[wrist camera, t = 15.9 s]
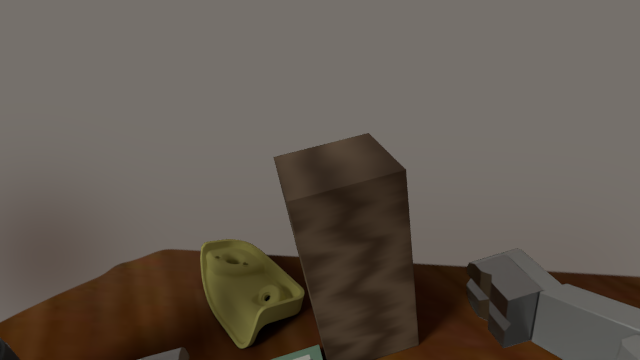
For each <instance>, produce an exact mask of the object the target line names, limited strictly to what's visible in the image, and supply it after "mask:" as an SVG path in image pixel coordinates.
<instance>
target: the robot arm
mask: <svg viewBox="0 0 640 360" xmlns="http://www.w3.org/2000/svg"><path fill="white" fill-rule="evenodd" d="M467 274H468V275H469V276H470V278H471V279H470V280H469V282H468V283H467V285H466V289H467V296H468V300H469V303H470V305H471V307H472V308H473V310H474V311H475V313H476V314H477V315H478V317H480V318H483V319H485V320H487V321H488V330H489V331H490V332H491V333H492V335H493V336H494V337H495V339H496V340H497V341H498V342H499V344H500V345H501V346H502V347H503V348H505V347H509V346H512V345H515V344H519V343H522V342H526V341H529V340H532V342H534V343H535V344H537V345H539V346H541V347H542V348H544V349H546V350H547V351H549V352H551V353H553V354H554V355H556V356H558V357H560V358H561V359H563V360H640V309H639V308H636V307H633V306H630V305H627V304H624V303H621V302H618V301H616V300H613V299H610V298H607V297H604V296H601V295H598V294H595V293H593V292H590V291H587V290H584V289H581V288H578V287H575V286H572V285H570V284H564V285H562V284H560V283H559V282H558V281H557V280H556V279H555V278H554V277H552V276H551V275H550V274H549V273H548V272H547V271H545V270H544V269H543V268H542V267H541V266H539V264H537V263H536V262H535V261H534V260H533V259H532V258H530V257H529V256H528V255H527V254H526V253H525V252H523V251H522V250H520V249H513V250H510V251H507V252H503V253H501V254H497V255H493V256H490V257H487V258H483V259H480V260H477V261H473V262H470V263H469V264H468V266H467ZM0 360H20V359H19V357H18V356H17V355H16V354H15V353H14V352H13V351H12V349H11V348H10V346H9V345H8V344H7V343H5V342H4V341H3V340H2V339H1V338H0ZM138 360H189V354H188V352H187V351H186V349H185V348H178V349H174V350H171V351H167V352H163V353H159V354H156V355H152V356H148V357H144V358H142V359H138Z"/></svg>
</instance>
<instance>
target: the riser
mask: <svg viewBox="0 0 640 360" xmlns="http://www.w3.org/2000/svg"><path fill="white" fill-rule="evenodd" d="M274 161H275V164H276V168H277V172H278V176H279V180H280V184H281V188H282V192H283V195H284V199H285V203H286V207H287V211H288V215H289V219H290V222H291V227H292V231H293V234H294V238H295V242H296V246H297V250H298V254H299V258H300V262H301V265H302V269H303V273H304V277H305V281H306V285H307V289H308V293H309V297H310V300H311V304H312V308H313V312H314V316H315V319H316V323H317V326H318V330H319V334H320V337H321V341H322V344H323V348H324V352H325V355H326V359H327V360H374V359H377V358H380V357H383V356H386V355H389V354H392V353H396V352H399V351H402V350H405V349H408V348H411V347H414V346H417V345H419V341H418V327H417V314H416V300H415V286H414V273H413V260H412V246H411V232H410V218H409V204H408V191H407V178H406V169H404V167H403V166H401V165H400V164H399V163H398V162H397V161H396V160H395V159H394V158H393V157H392V156H391V155H390V154H389V153H388V152H387V151H386V150H385V149H384V148H383V147H382V146H381V145H380V144H379V143H378V142H377V141H376V140H375V139H374V138H373V137H372V136H371V135H370V134H369V133H367V134H363V135H360V136H355V137H351V138H347V139H344V140H339V141H336V142H332V143H328V144H324V145H320V146H316V147H312V148H308V149H304V150H300V151H297V152H292V153H289V154H284V155H280V156H277V157H274Z"/></svg>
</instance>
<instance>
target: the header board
mask: <svg viewBox="0 0 640 360" xmlns="http://www.w3.org/2000/svg"><path fill="white" fill-rule="evenodd" d="M310 359H313V360H323V359H322V355H321V351H320V347H319V345H316V346H313V347H310V348H306V349H303V350H300V351H297V352H294V353H291V354H287V355H284V356H281V357H278V358H275V359H272V360H310Z"/></svg>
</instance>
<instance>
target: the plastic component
mask: <svg viewBox="0 0 640 360" xmlns="http://www.w3.org/2000/svg"><path fill="white" fill-rule="evenodd" d="M201 273H202V281H203V286H204V290H205V294H206V298H207V300H208V303H209V305H210V308H211V310H212V312H213V313H214V315H215V317H216V318H217V319H218V321H219V322H220V324H221V325H222V326H223V328H224V329H225V330H226V332H227V333H228V334H229V336H230V337H231V339H232V340H233V341H234V343H235V344H236V345H237V347H239V348H246V347H249V346H251V345H252V344H253V343H254V341H255V339H256V336H257V334H258V332H259V330H260V329H261V328H262V327H263V326H264V325H266V324H268V323H271V322H275V321H278V320H281V319H284V318H287V317H290V316H294V315H296V314H297V313H299V311H300V310H301V306H302V302H303V298H304V294H305V293H304V289H303V288H302V287H301V286H300V285H299V284H298V283H297V282H296V281H294V280H293V279H292V278H291V277H290V276H289V275H288V274H287V273H286V272H285V271H283V270H282V269H281V268H280V267H279V266H278V265H277V264H276V263H275V262H274V261H272V260H271V259H270V258H269V257H268V256H267V255H266V254H265V253H263V252H262V251H261V250H260V249H258V248H257V247H256V246H254V245H252V244H250V243H248V242H245V241H240V240H233V239H226V240H217V241H210V242H206V243H204V244H203V245H202V247H201ZM268 296H270V299H269V300H268V301H265V300H266V298H267V297H268Z"/></svg>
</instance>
